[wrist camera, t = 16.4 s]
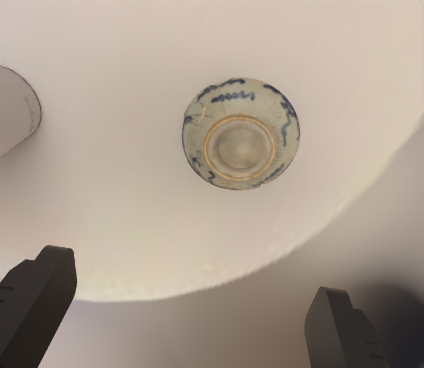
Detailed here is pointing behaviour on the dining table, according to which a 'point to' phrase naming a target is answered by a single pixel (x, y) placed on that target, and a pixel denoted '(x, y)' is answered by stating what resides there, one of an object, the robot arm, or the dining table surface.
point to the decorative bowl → (240, 134)
